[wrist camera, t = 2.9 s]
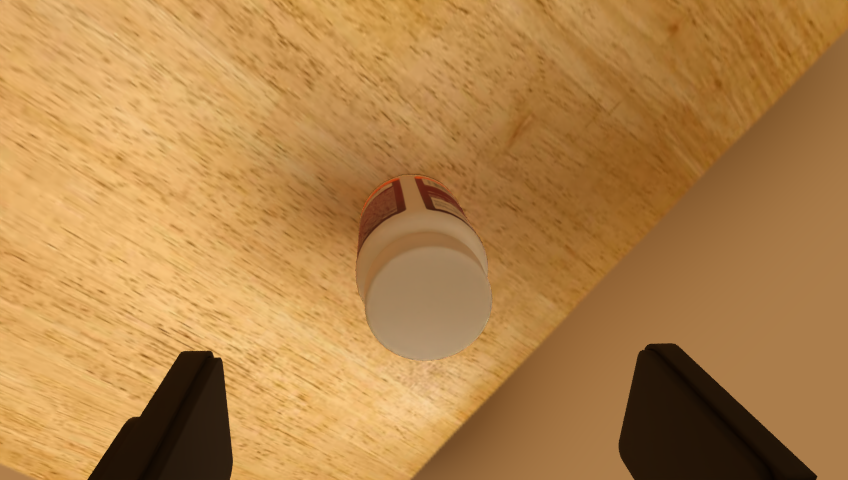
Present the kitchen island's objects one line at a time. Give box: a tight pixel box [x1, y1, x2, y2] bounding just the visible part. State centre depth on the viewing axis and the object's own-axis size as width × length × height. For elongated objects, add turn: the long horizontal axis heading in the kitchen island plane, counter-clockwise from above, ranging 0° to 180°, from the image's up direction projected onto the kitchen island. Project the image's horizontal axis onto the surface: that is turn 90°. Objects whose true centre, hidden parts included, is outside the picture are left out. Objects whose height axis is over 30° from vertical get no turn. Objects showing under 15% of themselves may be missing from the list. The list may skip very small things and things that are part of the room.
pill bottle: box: [356, 175, 492, 361], centre depth 19 cm, size 5×5×8 cm
